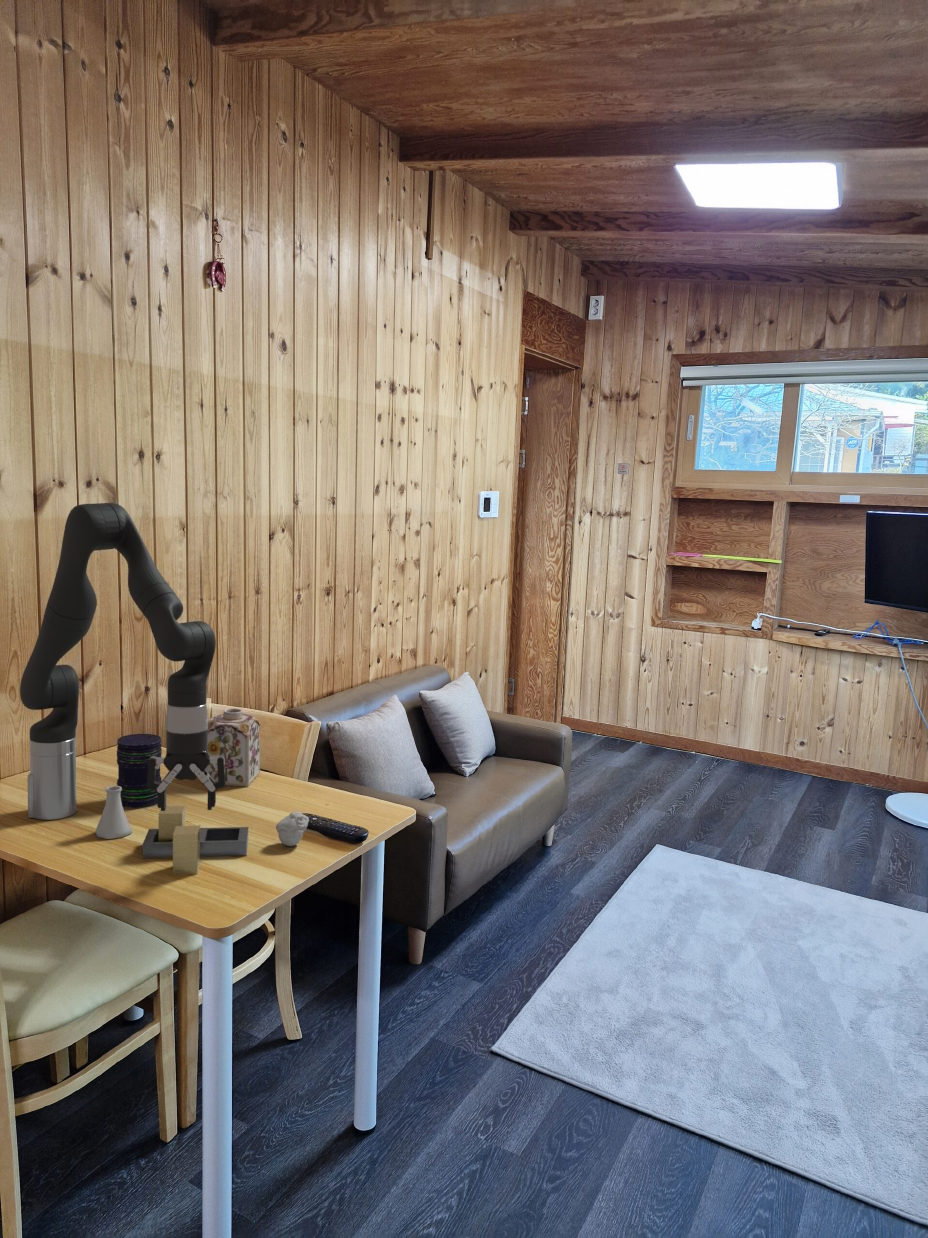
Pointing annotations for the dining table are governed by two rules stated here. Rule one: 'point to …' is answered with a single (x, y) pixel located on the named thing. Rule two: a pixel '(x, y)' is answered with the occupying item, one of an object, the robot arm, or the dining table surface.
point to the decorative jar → (235, 746)
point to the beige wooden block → (186, 850)
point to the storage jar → (137, 769)
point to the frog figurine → (292, 828)
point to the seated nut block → (170, 822)
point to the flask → (113, 816)
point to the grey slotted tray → (202, 843)
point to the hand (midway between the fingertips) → (186, 809)
